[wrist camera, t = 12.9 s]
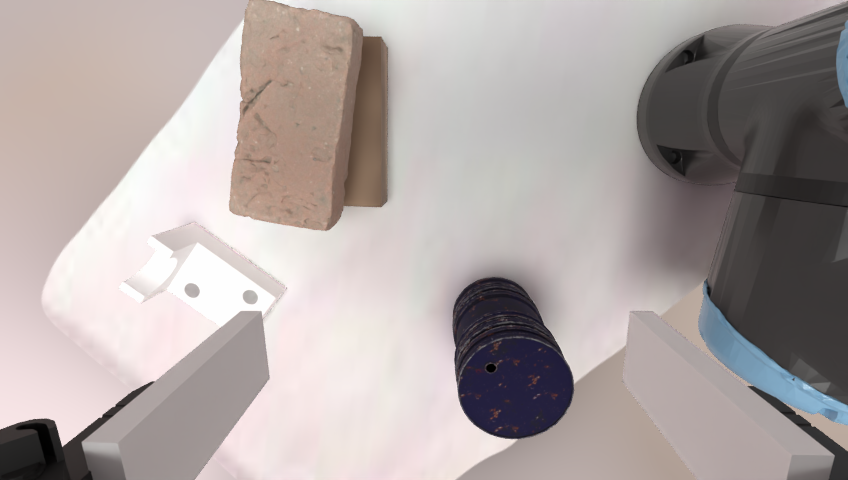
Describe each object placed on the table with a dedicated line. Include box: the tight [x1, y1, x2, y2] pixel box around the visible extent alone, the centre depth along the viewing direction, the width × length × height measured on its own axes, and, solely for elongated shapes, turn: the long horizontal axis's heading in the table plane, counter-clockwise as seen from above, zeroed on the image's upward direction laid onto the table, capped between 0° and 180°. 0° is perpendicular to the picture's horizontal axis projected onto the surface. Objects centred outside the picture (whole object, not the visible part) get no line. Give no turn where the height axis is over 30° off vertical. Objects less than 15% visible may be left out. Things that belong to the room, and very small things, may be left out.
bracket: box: [119, 222, 286, 327], centre depth 45 cm, size 13×7×8 cm, turn 52°
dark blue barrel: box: [453, 277, 574, 439], centre depth 41 cm, size 10×10×15 cm
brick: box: [229, 0, 363, 231], centre depth 32 cm, size 17×8×5 cm, turn 170°
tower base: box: [343, 37, 387, 207], centre depth 42 cm, size 12×16×5 cm
